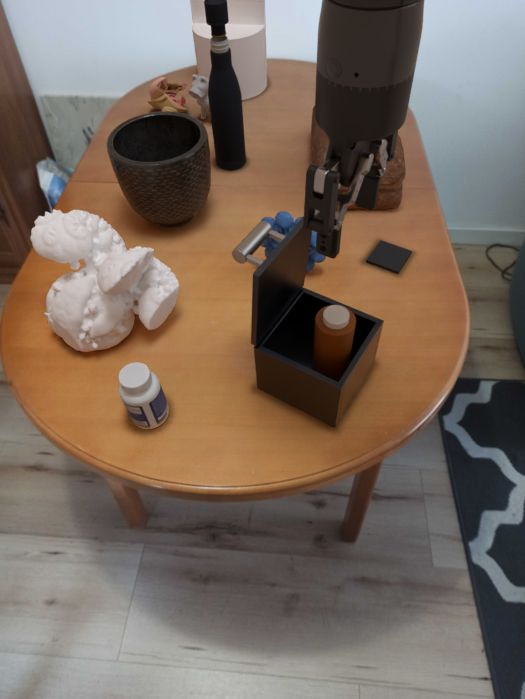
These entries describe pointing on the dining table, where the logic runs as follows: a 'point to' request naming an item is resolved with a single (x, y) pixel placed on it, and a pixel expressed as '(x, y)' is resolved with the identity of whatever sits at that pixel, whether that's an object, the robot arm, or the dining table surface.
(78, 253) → the white lumpy sculpture
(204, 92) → the dog figurine
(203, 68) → the cylinder
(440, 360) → the dining table surface
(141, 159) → the planter
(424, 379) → the dining table surface
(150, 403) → the pill bottle
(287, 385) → the black hinged box
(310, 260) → the grapes
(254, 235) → the lid
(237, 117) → the black water bottle
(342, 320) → the amber bottle
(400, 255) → the coaster
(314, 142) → the bread
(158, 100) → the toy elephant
